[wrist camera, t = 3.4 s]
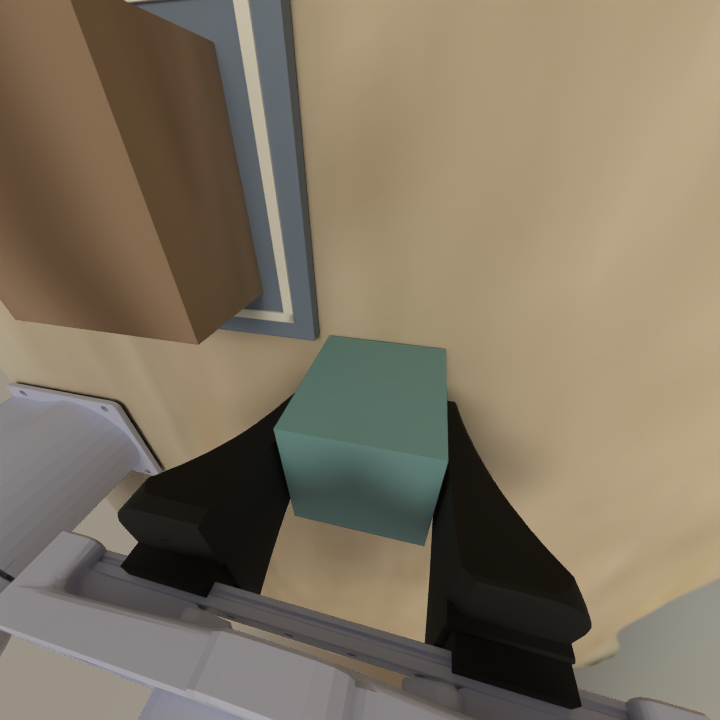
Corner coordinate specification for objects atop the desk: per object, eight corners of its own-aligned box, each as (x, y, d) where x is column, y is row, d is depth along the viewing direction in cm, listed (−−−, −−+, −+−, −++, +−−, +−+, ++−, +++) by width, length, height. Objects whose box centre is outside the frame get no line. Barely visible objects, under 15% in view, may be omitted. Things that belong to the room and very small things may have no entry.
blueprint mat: (114, 309, 15) (102, 315, 15) (-64, -31, 9) (-98, -43, 8) (319, 333, 13) (314, 341, 13) (282, -81, 7) (268, -102, 6)
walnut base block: (118, 278, 13) (15, 319, 10) (11, 56, 9) (-220, 6, 6) (263, 292, 12) (198, 344, 9) (213, 41, 8) (59, -30, 5)
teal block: (334, 415, 16) (294, 515, 12) (329, 335, 13) (273, 428, 9) (429, 431, 15) (424, 545, 11) (445, 349, 12) (448, 461, 8)
